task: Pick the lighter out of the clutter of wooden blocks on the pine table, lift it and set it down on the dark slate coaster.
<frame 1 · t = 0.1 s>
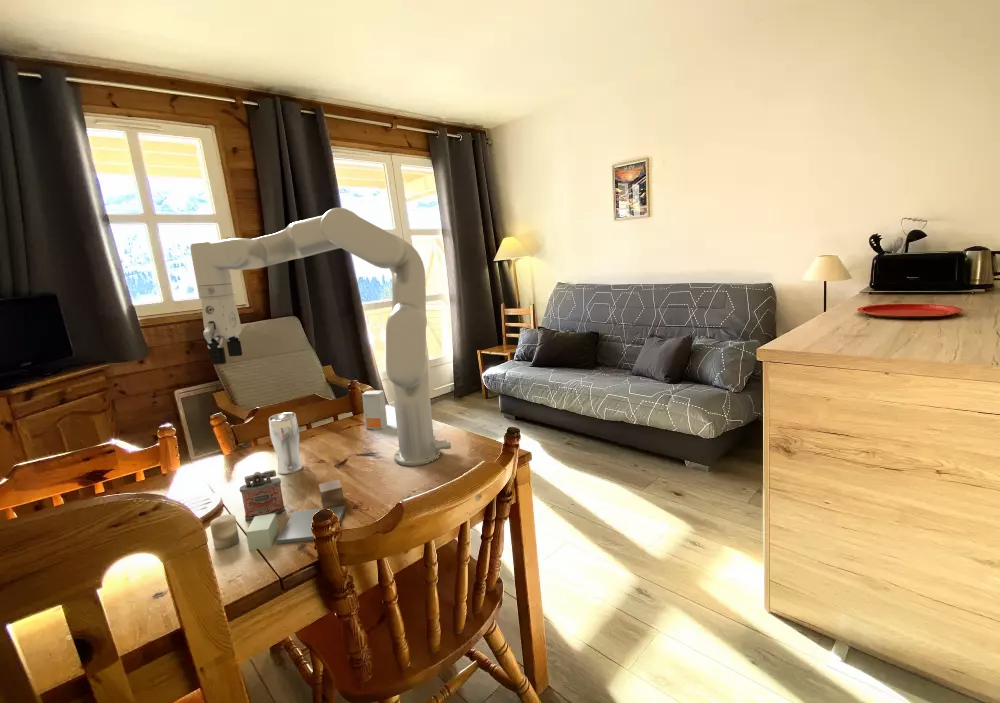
hand: (227, 359, 123), 31 cm above the table, tool pointing down, fingers open, 9 cm apart
skincare box: (376, 427, 160), on the table
coaster: (313, 525, 102), on the table
lighter: (265, 515, 107), on the table
sage block: (273, 529, 98), point 2 cm above the table, tilted 89°
beer glass: (290, 470, 131), on the table
beech cylinder: (226, 543, 97), on the table
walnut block: (332, 503, 111), on the table
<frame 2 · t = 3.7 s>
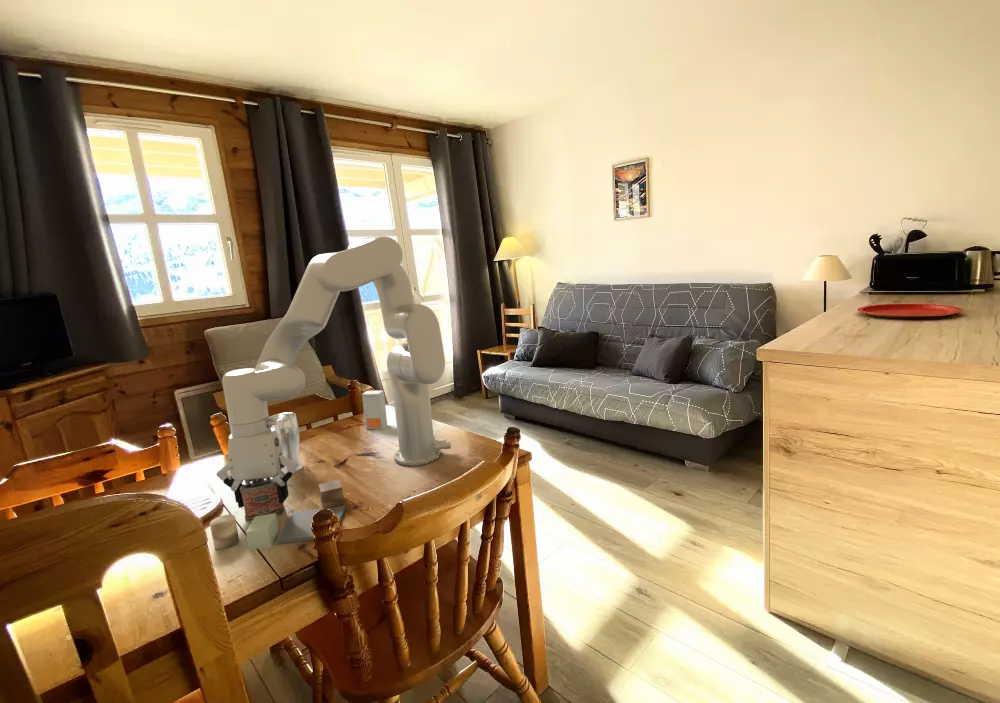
hand: (263, 502, 107), 3 cm above the table, tool pointing down, fingers closed on lighter, 8 cm apart
lighter: (265, 515, 107), on the table, touching gripper
everything else where it was.
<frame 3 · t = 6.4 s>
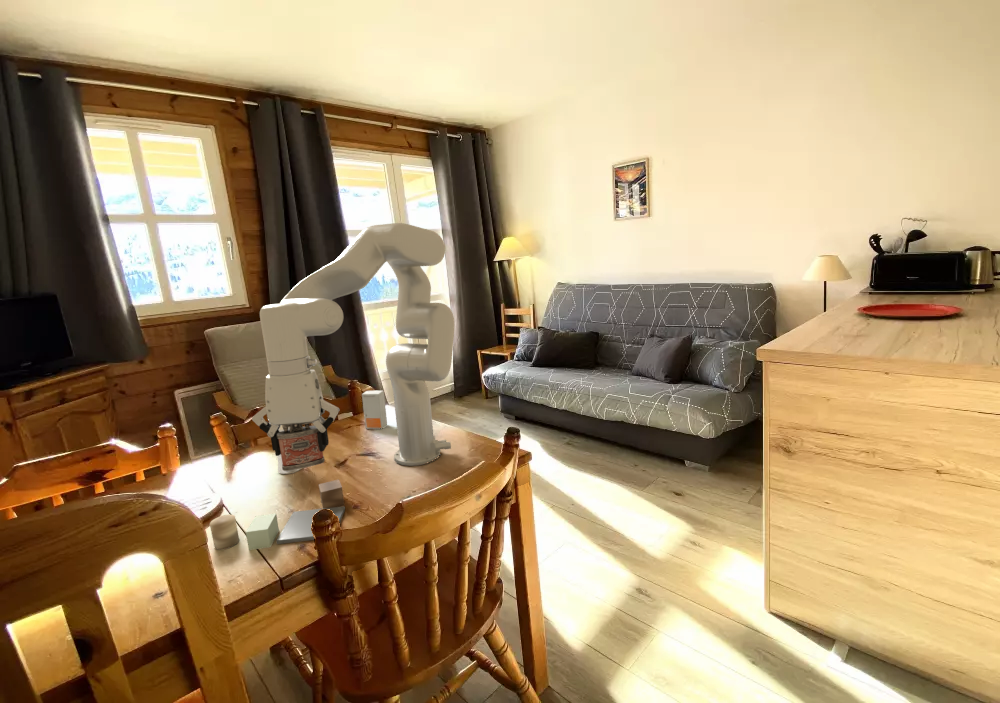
hand: (301, 450, 98), 17 cm above the table, tool pointing down, fingers closed on lighter, 8 cm apart
lighter: (304, 465, 99), point 13 cm above the table, touching gripper
everything else where it was.
when the fingers open (4 cm above the table, at t = 9.2 s): lighter stays where it is, resting on coaster.
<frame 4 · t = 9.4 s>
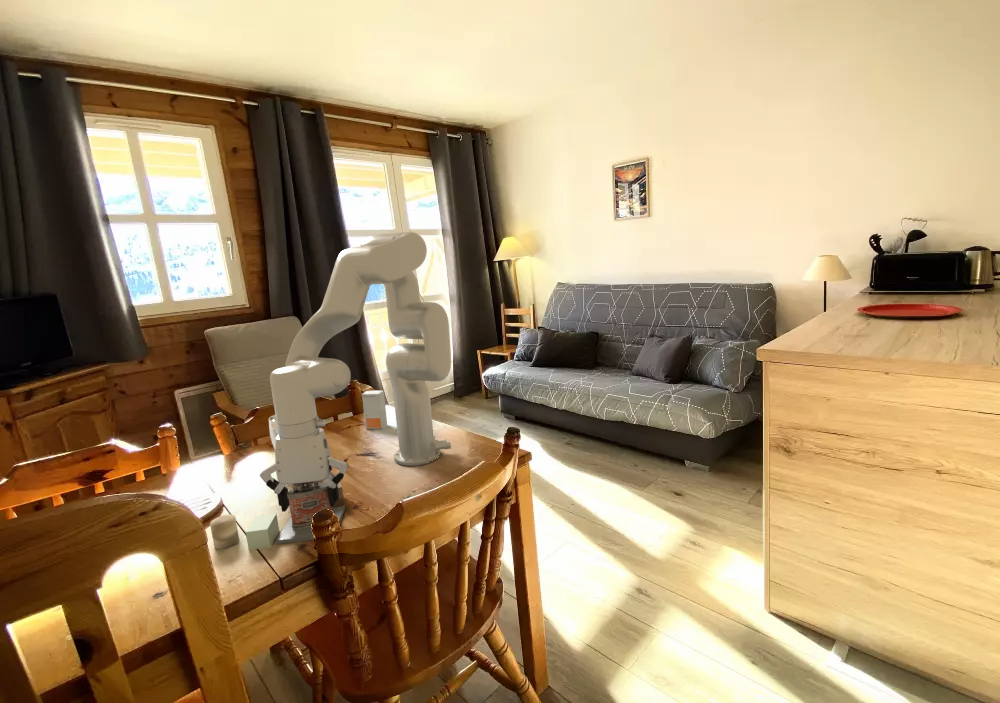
hand: (310, 505, 101), 5 cm above the table, tool pointing down, fingers open, 9 cm apart
lighter: (312, 522, 102), point 1 cm above the table, touching coaster
everything else where it was.
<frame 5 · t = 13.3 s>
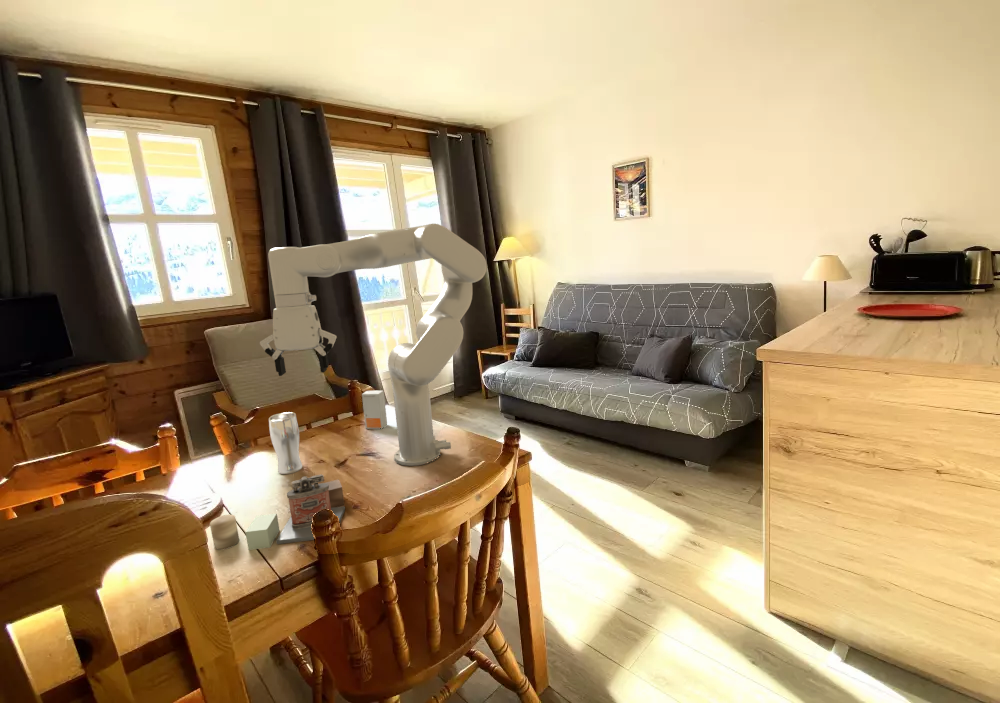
hand: (303, 372, 116), 28 cm above the table, tool pointing down, fingers open, 9 cm apart
nothing on the table moved.
at the end: lighter inside the target area on the coaster (0.1 cm from its centre), point 0.6 cm above the coaster's base; the gripper is holding nothing; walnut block moved 0.1 cm from its start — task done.
